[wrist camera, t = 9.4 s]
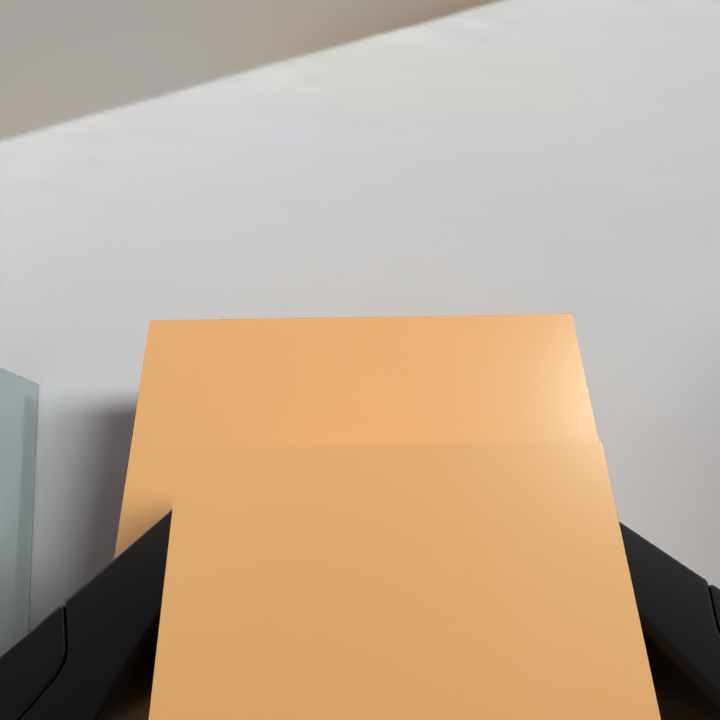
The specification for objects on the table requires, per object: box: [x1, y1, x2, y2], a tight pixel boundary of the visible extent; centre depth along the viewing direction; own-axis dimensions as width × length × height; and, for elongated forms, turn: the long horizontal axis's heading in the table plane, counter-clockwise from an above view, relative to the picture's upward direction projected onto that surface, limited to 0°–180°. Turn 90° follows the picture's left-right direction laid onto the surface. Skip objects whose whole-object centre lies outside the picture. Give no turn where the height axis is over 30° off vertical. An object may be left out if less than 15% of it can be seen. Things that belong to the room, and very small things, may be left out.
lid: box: [114, 314, 661, 720], centre depth 8 cm, size 11×11×8 cm
